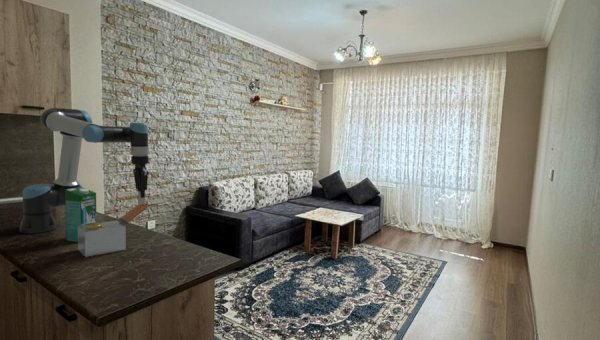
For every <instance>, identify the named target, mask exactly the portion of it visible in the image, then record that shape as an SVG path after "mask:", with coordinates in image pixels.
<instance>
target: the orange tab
mask: <svg viewBox="0 0 600 340" xmlns="http://www.w3.org/2000/svg"><path fill="white" fill-rule="evenodd" d="M148 208H149V206H148V205H147V204H146V203H145V204H141V205H139V204H137V205H135V206H134V207H133V208H132V209H131V210H129V211H128V212H126V213H125V214H123V215H122V216H121V217H119V218H118V220H119V222H120V223H122V224H123V225H129V223H130V222H131V221H133V220H134V219H135V218H137V216H139V215H140V214H142V213H143V212H144V211H145V210H146V209H148Z"/></svg>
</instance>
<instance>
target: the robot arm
mask: <svg viewBox="0 0 600 340" xmlns="http://www.w3.org/2000/svg"><path fill="white" fill-rule="evenodd" d="M39 121H40V123H41V125H42V126H43V127H44V128H45V129H47V130H50V131H52V132H59V134H60V135H61V136H62V138H61V139H62V140H61V149H60V155H59V156H60V157H59V164H58V175H57V178H56V179H54V180H53V185H51V184H50V183H38V184H32V185H28V186H26V187H25V188H23V190H22V196H21V197H22V208H23V209H22V210H23V217H22V219H21V222H20V225H19V233H22V234H39V233H46V232H50V231H53V230H55V229H57V222H56V220H55V218H54V216H53V212H52V210H53V208H58V207H65V190H66V189H71V188H77V187H82V188H83V185H82V184H81V183H80V181H79V180H78V172H79V166H80V165H79V164H80V157H81V151H82V150H81V149H82V141H83V140H84V141H85V142H88V143H94V144H97V143H128V144H129V143H130V149H129V151H130V154H131V157H130V158H131V164H133V165H134V168H133V169H132V171H133V178H134V184H135V189H136V191H137V199H138V201H137V203H138V204H139V205H141V204H145V205H146V191H147V190H148V177H149V170H147V167H146V165H148V164H149V163H150V161H149V160H150V159H149V157H150V156H149V151H150V150H149V131H148V124H147V123H145V122H130V123H129V126H115V125H114V126H113V125H99V124H96V123H93V119H92V117H91V115H90V113H88V112H87V111H85V110H83V109H82V110H81V109H76V108H75V109H74V108H60V107H52V108H51V107H50V108H48V109H46V110H44V111H43V112H42V113H41V114H40V120H39ZM138 204H137V205H138Z"/></svg>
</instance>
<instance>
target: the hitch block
mask: <svg viewBox="0 0 600 340" xmlns="http://www.w3.org/2000/svg"><path fill="white" fill-rule="evenodd" d="M101 223H103V227H101V228H98V229H86V225H80V226H78V242H77V251H79V252H80V253H81V254H82V256H83V257H84V256H85V258H90V257H94V255H95V256H99V255H104V254H105V255H106V254H110V253H115V252H120V251H124V250H126V249H127V246H126V244H127V242H126V241H127V240H126V238H127V235H126V234H127V233H126V232H127V231H126V229H127V228H126V227H127V226H126V224H124V223H123V222H121V221H120V220H119V221H118V220H110V221H102V222H101ZM89 256H90V257H89Z"/></svg>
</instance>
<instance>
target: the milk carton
mask: <svg viewBox="0 0 600 340" xmlns="http://www.w3.org/2000/svg"><path fill="white" fill-rule="evenodd" d="M64 207H65V211H64V212H65V235H66V236H65V240H66V241H70V242H75V243H76V242H77V243H78V226H80V225H86V224H89V223H96V222H98V221H97V220H98V219H97V192H95V191H93V190H90V189H87V188H85V187H83V186H82V187H77V188H71V189H66V190H65V206H64Z"/></svg>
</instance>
